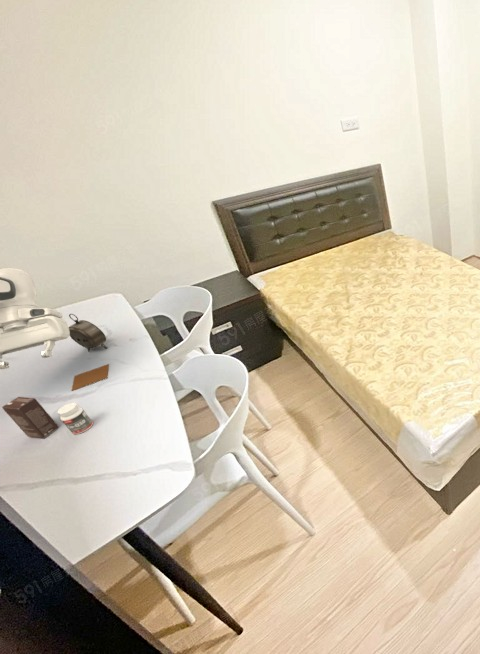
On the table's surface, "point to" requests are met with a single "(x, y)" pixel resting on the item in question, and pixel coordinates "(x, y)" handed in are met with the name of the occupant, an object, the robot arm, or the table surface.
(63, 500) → the table surface
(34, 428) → the box
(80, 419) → the pill bottle
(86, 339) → the alarm clock
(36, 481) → the table surface
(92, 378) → the coaster
